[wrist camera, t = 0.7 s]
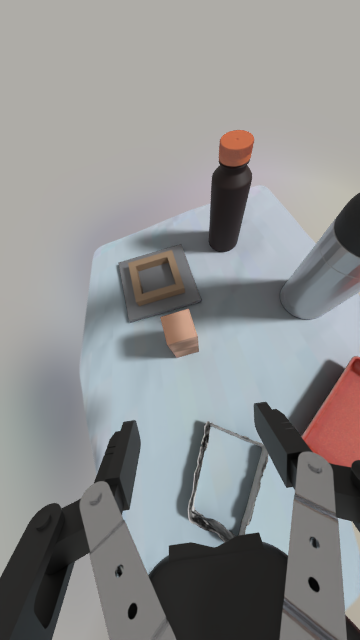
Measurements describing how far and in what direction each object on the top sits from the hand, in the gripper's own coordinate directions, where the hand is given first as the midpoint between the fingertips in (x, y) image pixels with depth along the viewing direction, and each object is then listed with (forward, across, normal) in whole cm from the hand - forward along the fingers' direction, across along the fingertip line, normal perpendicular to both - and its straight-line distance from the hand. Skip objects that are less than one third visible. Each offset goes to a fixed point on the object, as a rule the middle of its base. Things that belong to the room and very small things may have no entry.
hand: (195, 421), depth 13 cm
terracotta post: (+25, 0, +5) cm, 25 cm away
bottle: (+39, -13, -15) cm, 44 cm away
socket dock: (+34, +4, -8) cm, 35 cm away
